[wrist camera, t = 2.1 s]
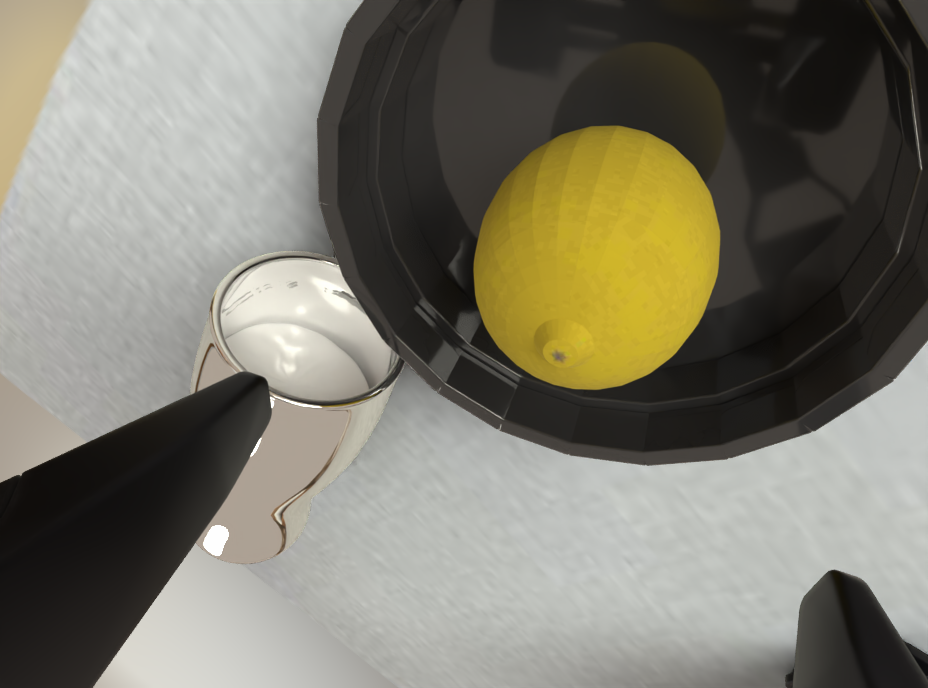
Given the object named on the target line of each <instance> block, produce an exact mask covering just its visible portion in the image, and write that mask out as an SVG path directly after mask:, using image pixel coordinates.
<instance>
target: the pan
mask: <svg viewBox="0 0 928 688" xmlns="http://www.w3.org/2000/svg"><path fill="white" fill-rule="evenodd" d="M590 126H623V127H627V128H632V129H636V130H640V131H645V132H648V133H650V134H652V135H654V136H655V137H657V138H659V139H661V140H663V141H665V142H667V143H669V144H670V145H672V146H673V147H674V148H675V149H676V150H678V151H679V152H680V153H681V154H682V155H683V156H684V157H685V158H686V159H687V160H688V161H689V162H690V163H692V164H693V166H694V167H695V168H696V170H697V172H698V173H699V175H700V177H701V178H702V180H703V182H704V183H705V185H706V187H707V188H708V190H709V192H710V194H711V196H712V200H713V204H714V208H715V212H716V216H717V220H718V224H719V229H720V251H719V268H718V274H717V278H716V281H715V285H714V287H713V290H712V293H711V295H710V298H709V301H708V303H707V306H706V309H705V311H704V313H703V316H702V318H701V319H700V321H699V323H698V325H697V326H696V328H695V329H694V330H693V332H692V333H691V334H690V336H689V337H688V338H687V339H686V341H685V342H684V343H683V344H682V346H681V347H680V348H679V350H678V351H677V352H676V353H675V354H674V355H673V356H672V357H671V358H670V359H669V360H667V361H666V362H665V363H663V364H662V365H661V366H659V367H658V368H657V369H655V370H654V371H653V372H651V373H650V374H648V375H646V376H644V377H641V378H639V379H637V380H634V381H632V382H629V383H627V384H625V385H622V386H617V387H611V388H605V389H597V390H590V389H571V388H567V387H562V386H557V385H553V384H551V383H548V382H546V381H543V380H541V379H539V378H536V377H534V376H532V375H531V374H529V373H528V372H526V371H525V370H523V369H522V368H520V367H519V366H517V365H516V364H515V363H514V362H513V361H512V360H511V359H510V358H509V357H508V356H507V355H506V354H505V353H504V352H503V351H502V350H501V349H500V348H499V347H498V346H497V345H496V343H495V341H494V340H493V338H492V337H491V335H490V334H489V332H488V331H487V329H486V327H485V325H484V322H483V319H482V317H481V314H480V311H479V308H478V305H477V302H476V296H475V284H474V257H475V252H476V247H477V242H478V238H479V233H480V229H481V225H482V221H483V218H484V216H485V213H486V211H487V209H488V208H489V206H490V204H491V202H492V200H493V198H494V197H495V195H496V193H497V191H498V189H499V188H500V186H501V184H502V182H503V181H504V180H505V178H506V177H507V176H508V175H509V174H510V173H511V172H512V171H513V170H514V169H515V168H516V167H517V166H518V165H519V164H520V163H521V162H522V161H523V160H524V159H525V158H526V157H527V156H528V155H529V154H530V153H531V152H532V151H534V150H535V149H537V148H539V147H540V146H542V145H544V144H546V143H547V142H549V141H551V140H552V139H554V138H556V137H558V136H559V135H562V134H565V133H568V132H572V131H576V130H579V129H583V128H587V127H590ZM317 139H318V184H319V203H320V208H321V211H322V214H323V217H324V220H325V224H326V227H327V230H328V233H329V236H330V239H331V242H332V245H333V249H334V252H335V255H336V258H337V261H338V264H339V267H340V271H341V274H342V277H343V278H344V280H345V282H346V284H347V285H348V287H349V288H350V290H351V291H352V293H353V295H354V296H355V298H356V299H357V301H358V302H359V304H360V306H361V307H362V309H363V310H364V312H365V313H366V315H367V317H368V318H369V320H370V321H371V323H372V324H373V326H374V328H375V329H376V331H377V332H378V334H379V335H380V337H381V339H382V340H384V342H385V343H386V344H387V345H388V346H389V347H390V348H391V349H392V350H393V351H394V352H395V353H396V354H397V355H398V356H399V357H400V358H401V359H402V360H403V361H404V362H405V363H406V364H407V365H409V366H410V367H411V368H412V369H413V370H414V371H415V372H416V373H417V374H418V375H419V376H420V377H421V378H422V379H423V380H424V381H425V382H426V383H427V384H428V385H429V386H430V387H431V388H432V389H433V390H434V391H437V393H438V394H440V395H442V396H443V397H445V398H447V399H448V400H450V401H452V402H453V403H455V404H456V405H458V406H460V407H461V408H463V409H465V410H466V411H468V412H469V413H471V414H473V415H474V416H476V417H478V418H479V419H481V420H483V421H484V422H486V423H487V424H489V425H491V426H492V427H494V428H496V429H499V430H500V431H502V432H505V433H508V434H510V435H513V436H516V437H519V438H522V439H524V440H527V441H530V442H533V443H536V444H539V445H541V446H544V447H547V448H550V449H553V450H556V451H558V452H561V453H564V454H567V455H568V454H569V455H571V456H578V457H586V458H593V459H600V460H608V461H615V462H623V463H630V464H638V465H647V466H650V465H663V464H675V463H688V462H701V461H713V460H726V459H728V458H733V457H736V456H739V455H742V454H746V453H749V452H752V451H755V450H758V449H761V448H764V447H768V446H771V445H774V444H777V443H780V442H783V441H786V440H789V439H793V438H796V437H799V436H802V435H805V434H808V433H811V432H812V431H816V430H818V429H819V428H821V427H822V426H824V425H825V424H827V423H829V422H830V421H832V420H833V419H835V418H836V417H838V416H840V415H841V414H843V413H844V412H846V411H847V410H849V409H851V408H852V407H854V406H855V405H857V404H858V403H860V402H862V401H863V400H865V399H866V398H868V397H870V396H871V395H873V394H874V393H876V392H877V391H879V390H881V389H882V388H884V387H885V386H887V385H888V384H890V383H892V382H893V381H894V379H896V378H897V376H898V375H899V374H900V373H901V372H902V371H903V369H904V368H905V367H906V366H907V365H908V363H909V362H910V361H911V360H912V359H913V358H914V356H915V355H916V354H917V353H918V352H919V351H920V349H921V348H922V347H923V346H924V345H925V343H926V342H927V341H928V0H363V2H362V3H361V4H360V6H359V7H358V9H357V10H356V11H355V13H354V14H353V15H352V17H351V18H350V20H349V21H348V22H347V24H346V27H345V28H344V32H343V35H342V38H341V42H340V45H339V48H338V51H337V55H336V58H335V61H334V65H333V68H332V71H331V75H330V78H329V81H328V85H327V88H326V91H325V94H324V98H323V101H322V104H321V108H320V111H319V114H318V118H317Z"/></svg>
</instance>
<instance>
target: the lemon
mask: <svg viewBox="0 0 928 688" xmlns="http://www.w3.org/2000/svg"><path fill="white" fill-rule="evenodd" d="M719 251H720V229H719V224H718V220H717V216H716V212H715V208H714V204H713V200H712V196H711V194H710V192H709V190H708V188H707V187H706V185H705V183H704V182H703V180H702V178H701V177H700V175H699V173H698V172H697V170H696V168H695V167H694V166H693V164H692V163H690V162H689V161H688V160H687V159H686V158H685V157H684V156H683V155H682V154H681V153H680V152H679V151H678V150H676V149H675V148H674V147H673V146H672V145H670V144H669V143H667V142H665V141H663V140H661V139H659V138H657V137H655V136H654V135H652V134H650V133H648V132H645V131H640V130H636V129H632V128H627V127H623V126H590V127H587V128H583V129H579V130H576V131H572V132H568V133H565V134H562V135H559V136H558V137H556V138H554V139H552V140H551V141H549V142H547V143H546V144H544V145H542V146H540V147H539V148H537V149H535V150H534V151H532V152H531V153H530V154H529V155H528V156H527V157H526V158H525V159H524V160H523V161H522V162H521V163H520V164H519V165H518V166H517V167H516V168H515V169H514V170H513V171H512V172H511V173H510V174H509V175H508V176H507V177H506V178H505V180H504V181H503V182H502V184H501V186H500V188H499V189H498V191H497V193H496V195H495V197H494V198H493V200H492V202H491V204H490V206H489V208H488V209H487V211H486V213H485V216H484V218H483V221H482V225H481V229H480V233H479V238H478V242H477V247H476V252H475V257H474V284H475V296H476V302H477V305H478V308H479V311H480V314H481V317H482V319H483V322H484V325H485V327H486V329H487V331H488V332H489V334H490V335H491V337H492V338H493V340H494V341H495V343H496V345H497V346H498V347H499V348H500V349H501V350H502V351H503V352H504V353H505V354H506V355H507V356H508V357H509V358H510V359H511V360H512V361H513V362H514V363H515V364H516V365H517V366H519V367H520V368H522V369H523V370H525V371H526V372H528V373H529V374H531V375H532V376H534V377H536V378H539V379H541V380H543V381H546V382H548V383H551V384H553V385H557V386H562V387H567V388H571V389H590V390H597V389H605V388H611V387H617V386H622V385H625V384H627V383H629V382H632V381H634V380H637V379H639V378H641V377H644V376H646V375H648V374H650V373H651V372H653V371H654V370H655V369H657V368H658V367H659V366H661V365H662V364H663V363H665V362H666V361H667V360H669V359H670V358H671V357H672V356H673V355H674V354H675V353H676V352H677V351H678V350H679V348H680V347H681V346H682V344H683V343H684V342H685V341H686V339H687V338H688V337H689V336H690V334H691V333H692V332H693V330H694V329H695V328H696V326H697V325H698V323H699V321H700V319H701V318H702V316H703V313H704V311H705V309H706V306H707V303H708V301H709V298H710V295H711V293H712V290H713V287H714V285H715V281H716V278H717V274H718V268H719Z"/></svg>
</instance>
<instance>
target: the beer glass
mask: <svg viewBox="0 0 928 688" xmlns="http://www.w3.org/2000/svg"><path fill="white" fill-rule="evenodd" d="M404 365H405V362H404V361H403V360H402V359H401V358H400V357H399V356H398V355H397V354H396V353H395V352H394V351H393V350H392V349H391V348H390V347H389V346H388V345H387V344H386V343H385V342H384V340H382V339H381V337H380V335H379V334H378V332H377V331H376V329H375V328H374V326H373V324H372V323H371V321H370V320H369V318H368V317H367V315H366V313H365V312H364V310H363V309H362V307H361V306H360V304H359V302H358V301H357V299H356V298H355V296H354V295H353V293H352V291H351V290H350V288H349V287H348V285H347V284H346V282H345V280H344V278H343V277H342V274H341V271H340V267H339V264H338V261H337V259H335V258H332V257H329V256H326V255H322V254H317V253H312V252H304V251H280V252H273V253H268V254H264V255H260V256H257V257H254V258H252V259H249V260H247V261H245V262H243V263H242V264H240V265H238V266H237V267H235V268H234V269H233V270H231V271H230V272H229V273H228V274H227V275H226V276H225V277H224V278H223V280H222V281H221V282H220V284H219V285H218V287H217V288H216V290H215V292H214V295H213V297H212V300H211V304H210V310H209V315H208V318H207V321H206V324H205V327H204V330H203V333H202V337H201V340H200V343H199V347H198V350H197V354H196V359H195V363H194V368H193V372H192V378H191V387H190V395H191V394H193V393H195V392H197V391H199V390H202V389H204V388H206V387H208V386H210V385H212V384H215V383H217V382H219V381H221V380H223V379H225V378H227V377H230V376H232V375H234V374H236V373H238V372H242V371H248V372H251V373H254V374H257V375H260V376H263V377H265V378H266V380H267V381H268V385H269V392H270V399H271V405H272V416H271V419H270V422H269V424H268V426H267V428H266V430H265V431H264V433H263V435H262V437H261V439H260V440H259V442H258V444H257V446H256V448H255V449H254V451H253V453H252V455H251V456H250V458H249V460H248V462H247V464H246V465H245V467H244V469H243V471H242V473H241V474H240V476H239V478H238V480H237V482H236V483H235V485H234V487H233V489H232V490H231V492H230V494H229V495H228V497H227V499H226V500H225V502H224V503H223V505H222V506H221V508H220V509H219V510H218V512H217V513H216V515H215V516H214V518H213V519H212V520H211V522H210V523H209V525H208V526H207V527H206V529H205V530H204V532H203V533H202V534H201V536H200V537H199V539H198V540H197V541H196V544H197V545H198V546H199V547H200V548H201V549H202V550H204V551H205V552H206V553H208V554H209V555H211V556H213V557H215V558H217V559H220V560H222V561H226V562H230V563H236V564H252V563H258V562H262V561H265V560H268V559H271V558H273V557H275V556H277V555H279V554H281V553H282V552H284V551H285V550H286V549H288V548H289V547H290V546H291V545H292V544H293V543H294V542H295V541H296V540H297V539H298V537H299V536H300V535H301V533H302V531H303V530H304V528H305V526H306V523H307V521H308V518H309V514H310V508H311V499H312V498H314V497H315V496H316V495H317V494H319V493H320V492H321V491H322V490H323V489H325V488H326V487H327V486H328V485H329V484H330V483H331V482H333V481H334V480H335V479H336V478H337V477H338V476H339V475H340V474H341V473H342V472H343V471H344V470H345V469H346V468H347V467H348V466H349V465H350V464H351V462H352V461H353V460H354V459H355V458H356V456H357V455H358V454H359V452H360V451H361V449H362V448H363V446H364V445H365V443H366V442H367V440H368V439H369V437H370V436H371V434H372V432H373V430H374V429H375V427H376V425H377V423H378V421H379V419H380V417H381V415H382V413H383V411H384V409H385V407H386V404H387V402H388V400H389V398H390V395H391V393H392V390H393V388H394V385H395V383H396V381H397V378H398V377H399V375H400V374H401V372H402V370H403V368H404Z"/></svg>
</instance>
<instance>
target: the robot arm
mask: <svg viewBox="0 0 928 688" xmlns="http://www.w3.org/2000/svg"><path fill="white" fill-rule="evenodd" d="M271 416H272V405H271V399H270V392H269V385H268V381H267V380H266V378H265V377H263V376H260V375H257V374H254V373H251V372H248V371H242V372H238V373H236V374H234V375H232V376H230V377H227V378H225V379H223V380H221V381H219V382H217V383H215V384H212V385H210V386H208V387H206V388H204V389H202V390H199V391H197V392H195V393H193V394H191V395H189V396H187V397H184V398H182V399H180V400H178V401H176V402H174V403H171V404H169V405H167V406H165V407H163V408H161V409H159V410H156V411H154V412H152V413H150V414H148V415H146V416H143V417H141V418H139V419H137V420H135V421H133V422H131V423H128V424H126V425H124V426H122V427H120V428H118V429H115V430H113V431H111V432H109V433H107V434H105V435H103V436H100V437H98V438H96V439H94V440H92V441H90V442H88V443H85V444H83V445H81V446H79V447H77V448H75V449H73V450H70V451H68V452H66V453H64V454H62V455H60V456H58V457H55V458H53V459H51V460H49V461H47V462H44V463H42V464H40V465H38V466H36V467H34V468H32V469H29V470H27V471H25V472H24V473H22V476H20V475H16V476H14V477H12V478H10V479H8V480H5V481H3V482H1V483H0V688H93V686H94V685H95V683H96V682H97V681H98V679H99V678H100V677H101V675H102V674H103V672H104V671H105V670H106V668H107V667H108V665H109V664H110V662H111V661H112V660H113V658H114V657H115V655H116V654H117V652H118V651H119V650H120V648H121V647H122V646H123V644H124V643H125V641H126V640H127V638H128V637H129V636H130V634H131V633H132V631H133V630H134V629H135V627H136V626H137V624H138V623H139V622H140V620H141V619H142V617H143V616H144V615H145V613H146V612H147V610H148V609H149V608H150V606H151V605H152V603H153V602H154V600H155V599H156V598H157V596H158V595H159V593H160V592H161V590H162V589H163V588H164V586H165V585H166V584H167V582H168V581H169V579H170V578H171V577H172V575H173V574H174V572H175V571H176V570H177V568H178V567H179V565H180V564H181V563H182V561H183V560H184V558H185V557H186V555H187V554H188V552H189V551H190V550H191V548H192V547H193V546H194V544H195V543H196V541H197V540H198V539H199V537H200V536H201V534H202V533H203V532H204V530H205V529H206V527H207V526H208V525H209V523H210V522H211V520H212V519H213V518H214V516H215V515H216V513H217V512H218V510H219V509H220V508H221V506H222V505H223V503H224V502H225V500H226V499H227V497H228V495H229V494H230V492H231V490H232V489H233V487H234V485H235V483H236V482H237V480H238V478H239V476H240V474H241V473H242V471H243V469H244V467H245V465H246V464H247V462H248V460H249V458H250V456H251V455H252V453H253V451H254V449H255V448H256V446H257V444H258V442H259V440H260V439H261V437H262V435H263V433H264V431H265V430H266V428H267V426H268V424H269V422H270V419H271ZM785 682H786V687H787V688H928V655H927V654H925V653H923V652H922V651H920V650H919V649H917V648H915V647H914V646H912V645H910V644H908V643H906V642H904V641H903V640H902V638H901V637H900V635H899V634H898V632H897V630H896V629H895V627H894V626H893V624H892V622H891V621H890V619H889V618H888V616H887V615H886V613H885V611H884V610H883V608H882V607H881V605H880V603H879V602H878V600H877V599H876V597H875V595H874V594H873V592H872V591H871V589H870V588H869V586H868V585H867V584H866V583H865V582H864V581H863V580H862V579H860V578H858V577H856V576H853V575H850V574H847V573H844V572H841V571H838V570H831V571H828V572H827V573H826V574H825V575H824V576H823V577H822V578H821V579H820V580H819V581H818V582H817V583H816V584H815V585H814V586H813V587H812V588H811V590H810V591H809V592H808V593H807V594H806V595H805V596H804V598H803V600H802V602H801V605H800V610H799V620H798V631H797V643H796V655H795V666H794V672H793V673H790V674H787V675H786V677H785Z"/></svg>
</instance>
